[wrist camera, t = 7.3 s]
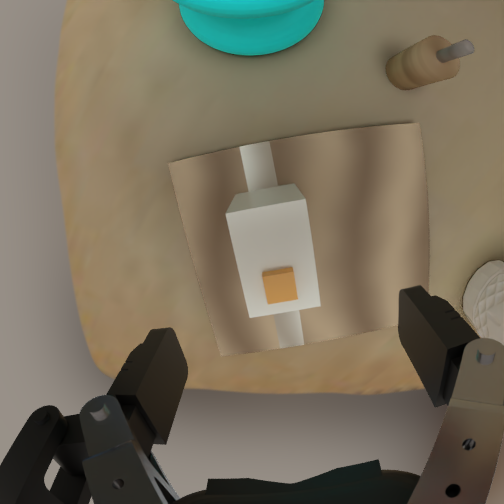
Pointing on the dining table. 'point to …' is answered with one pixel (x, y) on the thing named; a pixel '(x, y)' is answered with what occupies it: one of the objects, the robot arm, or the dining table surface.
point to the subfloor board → (315, 230)
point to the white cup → (486, 301)
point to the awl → (427, 62)
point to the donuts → (250, 23)
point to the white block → (274, 250)
